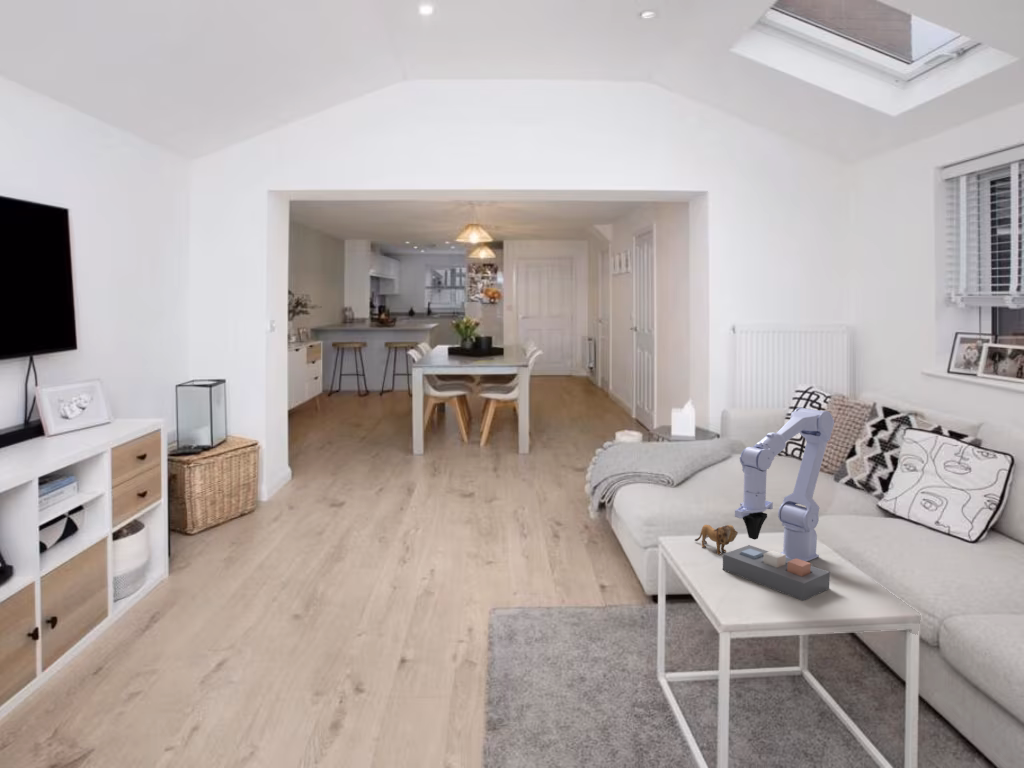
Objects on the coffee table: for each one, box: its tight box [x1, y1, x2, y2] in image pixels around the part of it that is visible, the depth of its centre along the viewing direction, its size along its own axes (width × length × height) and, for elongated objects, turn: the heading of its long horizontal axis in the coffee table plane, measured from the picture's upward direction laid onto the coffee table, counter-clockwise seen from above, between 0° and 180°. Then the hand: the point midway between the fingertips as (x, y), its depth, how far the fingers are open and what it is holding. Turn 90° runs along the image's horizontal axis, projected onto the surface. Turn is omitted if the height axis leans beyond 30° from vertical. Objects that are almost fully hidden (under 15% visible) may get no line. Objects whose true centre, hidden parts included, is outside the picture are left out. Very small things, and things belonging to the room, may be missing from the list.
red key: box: [787, 558, 812, 577], centre depth 164 cm, size 4×4×3 cm
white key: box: [763, 549, 786, 568], centre depth 170 cm, size 4×4×3 cm
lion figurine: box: [694, 524, 739, 555], centre depth 192 cm, size 15×5×9 cm, turn 35°
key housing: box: [722, 544, 831, 602], centre depth 171 cm, size 12×24×4 cm, turn 35°
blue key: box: [741, 549, 762, 560], centre depth 176 cm, size 4×4×3 cm
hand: (753, 538), depth 175 cm, fingers closed
